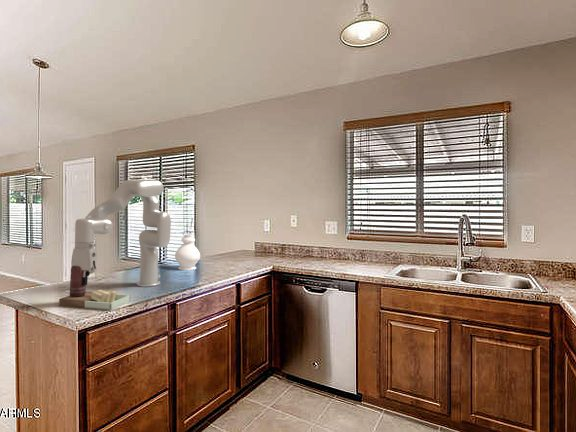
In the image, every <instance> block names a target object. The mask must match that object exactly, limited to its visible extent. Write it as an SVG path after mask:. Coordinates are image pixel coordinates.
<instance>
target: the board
mask: <svg viewBox="0 0 576 432" xmlns="http://www.w3.org/2000/svg"><path fill="white" fill-rule="evenodd" d="M92 292H93V291H85V295H84V296H82V297H71V296H70V295H67V296H64V297H61V298H59V300H58V306H59V307H71V308H79V309H80V308H82V309H86V308H85V301H94V302H98V301H96V300H94V299H91V295H92Z"/></svg>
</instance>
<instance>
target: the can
mask: <svg viewBox="0 0 576 432" xmlns="http://www.w3.org/2000/svg"><path fill="white" fill-rule="evenodd" d="M82 277H83V271H82V269H81V267H73V266H72V267H70V278H69V279H70V281H69V296H71V297H82V296H84V295H85V292H86V290H87V289H86V285H84V286H82Z"/></svg>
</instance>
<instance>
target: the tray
mask: <svg viewBox="0 0 576 432" xmlns="http://www.w3.org/2000/svg"><path fill="white" fill-rule="evenodd" d="M129 302H131V294H122V293H121V294H120V293H119V294H118V293H116V295H115V299H114V302H112V303H106V302H99V301H98V302H94V301H85V308H84V309H91V310H92V309H94V310H104V311H113V310H115V309H117V308H119V307H121V306H123V305H125V304H127V303H129Z"/></svg>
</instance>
